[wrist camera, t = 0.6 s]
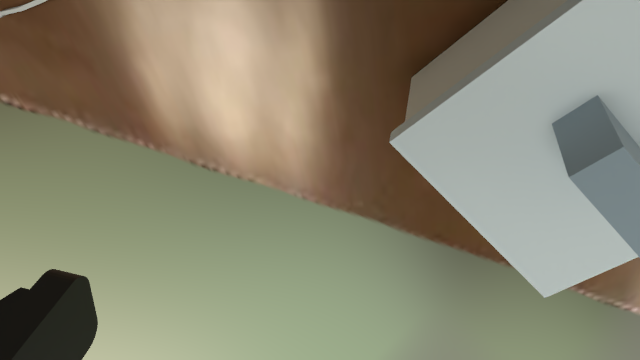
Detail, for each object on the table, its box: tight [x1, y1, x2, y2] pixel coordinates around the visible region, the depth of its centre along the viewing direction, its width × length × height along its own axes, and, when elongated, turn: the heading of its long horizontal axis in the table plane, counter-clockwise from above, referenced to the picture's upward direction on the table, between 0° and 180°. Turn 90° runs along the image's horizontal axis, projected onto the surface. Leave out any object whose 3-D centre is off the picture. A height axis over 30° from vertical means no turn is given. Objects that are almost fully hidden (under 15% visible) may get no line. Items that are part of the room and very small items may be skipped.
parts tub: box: [405, 0, 567, 121], centre depth 32 cm, size 16×14×8 cm
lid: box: [389, 0, 640, 298], centre depth 27 cm, size 17×15×7 cm
